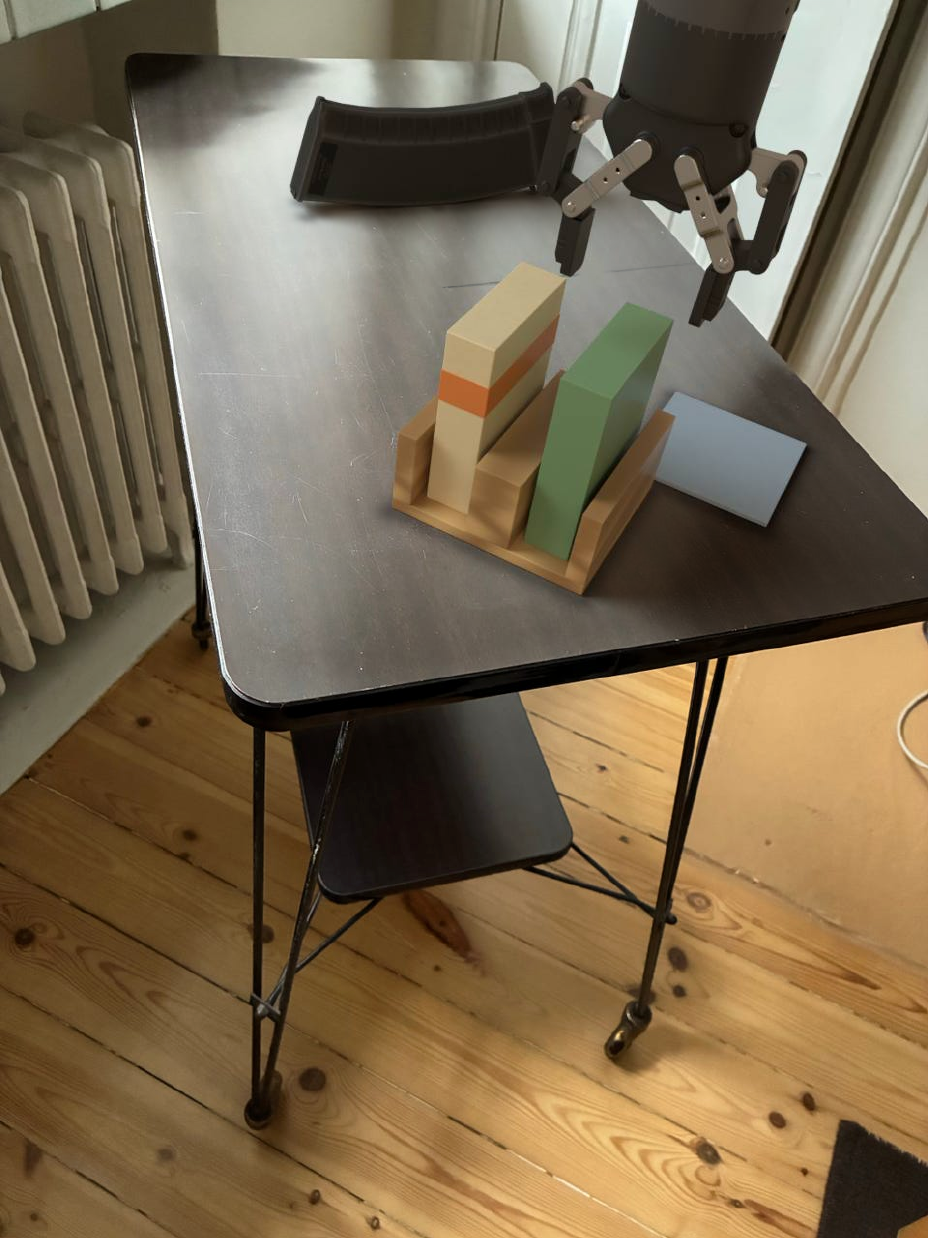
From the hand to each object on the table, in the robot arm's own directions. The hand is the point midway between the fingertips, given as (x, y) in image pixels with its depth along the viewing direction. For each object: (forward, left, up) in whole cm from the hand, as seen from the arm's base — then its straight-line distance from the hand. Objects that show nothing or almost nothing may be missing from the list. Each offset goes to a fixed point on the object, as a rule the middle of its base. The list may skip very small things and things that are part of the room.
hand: (633, 295), depth 60 cm
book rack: (+4, 0, -19) cm, 19 cm away
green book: (0, 0, -18) cm, 18 cm away
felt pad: (-7, -14, -19) cm, 24 cm away
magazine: (+33, -37, -19) cm, 53 cm away
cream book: (+8, 0, -18) cm, 19 cm away
